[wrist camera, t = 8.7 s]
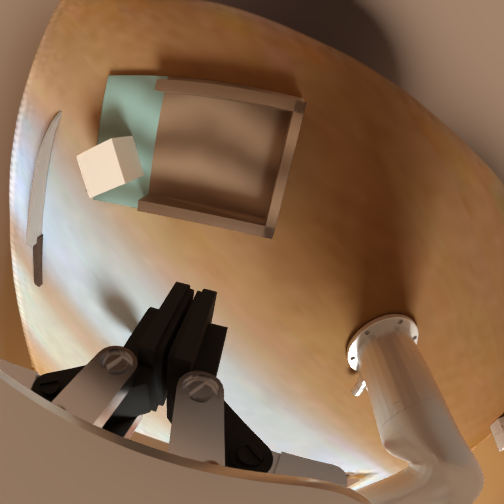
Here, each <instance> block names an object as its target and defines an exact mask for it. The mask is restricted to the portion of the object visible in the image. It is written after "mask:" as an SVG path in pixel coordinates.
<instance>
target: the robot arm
mask: <svg viewBox="0 0 504 504" xmlns="http://www.w3.org/2000/svg"><path fill="white" fill-rule="evenodd" d="M216 295H217V292H215V291H211V290H207V289H203V291H202V292H200V291H197V293H196V295H195V297H194V299H193V296H194V290H193V289H190V285H187V284H184V283H180V282H176V283H175V285H174V286H173V288H172V289H171V291H170V292H169V294H168V296H167V297H166V299H165V300H164V302H163V304H162V305H161V307H160V308H159V309H156V308H152V307H150V308H149V309H148V310H147V312H146V313H145V315H144V316H143V318H142V319H141V321H140V322H139V324H138V325H137V327H136V328H135V330H134V331H133V333H132V335H131V336H130V338H129V339H128V341H127V342H126V344H125V345H124V347H122V346H109V347H106V348H104V349H102V350H101V351H100V352H99V353H98V354H97V355H96V356H95V357H94V358H93V359H92V360H91V361H90V362H89V363H88V364H87V365H85V366H80V367H76V368H71V369H66V370H62V371H57V372H51V373H47V374H44V375H41V376H40V375H39V374H38V372H36V371H33V370H30V369H27V368H24V367H21V366H18V365H15V364H13V363H10V362H7V361H5V360H2V359H0V504H472V503H473V502H474V501H475V500H476V499H477V498H478V496H479V495H480V493H481V491H482V488H483V484H484V477H483V473H482V470H481V467H480V465H479V463H478V461H477V460H476V458H475V456H474V455H473V453H472V451H471V450H470V448H469V447H468V445H467V444H466V442H465V440H464V438H463V436H462V435H461V433H460V431H459V429H458V427H457V425H456V423H455V421H454V419H453V417H452V415H451V413H450V411H449V408H448V406H447V404H446V402H445V400H444V398H443V396H442V394H441V391H440V389H439V387H438V385H437V383H436V381H435V379H434V377H433V375H432V373H431V371H430V369H429V368H428V366H427V364H426V362H425V360H424V358H423V356H422V354H421V352H420V351H419V349H418V347H417V345H416V344H417V341H418V335H419V334H418V328H417V326H416V324H415V323H414V321H413V320H412V319H411V318H410V317H408V316H406V315H402V314H389V315H384V316H381V317H378V318H376V319H374V320H372V321H370V322H369V323H367V324H366V325H364V326H363V327H362V328H361V329H359V330H358V331H357V332H356V334H355V335H354V336H353V337H352V339H351V340H350V342H349V344H348V347H347V352H346V353H347V359H348V363H349V365H350V366H351V367H352V368H353V369H354V370H355V371H357V372H359V377H358V382H357V383H356V384H355V385H354V387H353V388H352V390H351V392H352V394H353V395H355V396H359V395H360V394H361V393H362V392H363V390H364V389H365V387H366V388H367V392H368V395H369V399H370V402H371V405H372V409H373V413H374V416H375V420H376V423H377V427H378V431H379V435H380V438H381V442H382V444H383V446H384V448H385V449H386V451H387V452H389V453H390V454H391V455H393V456H395V457H397V458H400V459H402V460H405V461H407V462H408V463H409V466H408V467H407V468H406V469H404V470H402V471H400V472H398V473H397V474H394V475H392V476H390V477H388V478H385V479H383V480H380V481H378V482H375V483H373V484H370V485H368V486H365V487H362V488H360V489H357V490H355V491H354V490H352V489H350V488H347V476H346V474H345V472H344V471H343V470H342V469H341V468H340V467H338V466H335V465H332V464H327V463H323V462H319V461H314V460H310V459H306V458H303V457H299V456H295V455H292V454H288V453H285V452H281V454H280V453H276V452H273V451H271V450H270V449H269V448H268V446H267V445H266V444H265V443H264V442H263V441H262V440H261V439H260V438H259V437H258V436H257V435H256V434H255V433H254V432H253V431H252V430H251V429H250V428H249V427H248V426H247V425H246V424H245V423H244V422H243V421H242V420H241V418H240V417H239V416H238V415H237V414H236V413H235V412H234V411H233V410H232V409H231V407H230V406H229V405H228V404H227V403H226V402H225V401H224V389H223V385H222V383H221V382H220V380H219V379H218V378H216V376H217V372H218V367H219V363H220V359H221V355H222V350H223V346H224V342H225V337H226V333H227V328H228V327H223V326H219V325H215V324H211V322H212V317H213V311H214V306H215V300H216ZM166 398H167V418H168V420H169V421H170V422H171V424H172V425H171V433H170V442H169V452H168V453H167V452H164V451H161V450H158V449H155V448H151V447H148V446H145V445H143V444H140V443H137V442H134V441H132V440H129V438H130V437H131V435H132V433H133V432H134V430H135V429H136V427H137V426H138V424H139V423H140V421H141V419H142V417H143V414H146V413H149V412H150V411H151V410H152V411H155V412H156V410H157V407H158V405H161V406H163V405H164V403H165V400H166Z"/></svg>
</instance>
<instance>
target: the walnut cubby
mask: <svg viewBox="0 0 504 504" xmlns="http://www.w3.org/2000/svg"><path fill="white" fill-rule="evenodd" d="M303 101H304V99H303V98H299V97H295V96H291V95H287V94H283V93H279V92H274V91H270V90H265V89H260V88H255V87H250V86H244V85H239V84H232V83H226V82H219V81H211V80H203V79H194V78H183V77H169V76H147V75H112V76H108V80H107V85H106V90H105V95H104V101H103V106H102V112H101V119H100V126H99V133H98V141H97V145H99V144H101V143H103V142H105V141H107V140H109V139H111V138H117V137H126V136H133V139H134V142H135V146H136V149H137V152H138V156H139V159H140V162H141V165H142V169H143V172H144V176H141V177H139V178H137V179H135V180H132V181H130V182H128V183H126V184H123V185H121V186H118V187H116V188H113V189H111V190H108V191H106V192H103V193H101V194H99V195H96V196H94V197H93V200H98V201H104V202H109V203H114V204H120V205H125V206H130V207H135V208H137V211H142V212H147V213H152V214H157V215H162V216H167V217H171V218H176V219H181V220H186V221H191V222H196V223H201V224H205V225H210V226H215V227H220V228H224V229H229V230H234V231H238V232H243V233H247V234H252V235H257V236H261V237H266V238H270V239H272V238H273V234H274V230H275V226H276V222H277V219H278V215H279V211H280V207H281V203H282V199H283V195H284V191H285V187H286V183H287V179H288V175H289V171H290V167H291V163H292V159H293V155H294V151H295V147H296V143H297V139H298V135H299V131H300V127H301V123H302V119H303V115H304V110H305V106H306V103H305V102H303Z"/></svg>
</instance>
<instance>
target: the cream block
mask: <svg viewBox="0 0 504 504" xmlns="http://www.w3.org/2000/svg"><path fill="white" fill-rule="evenodd" d="M77 160H78V163H79V167H80V170H81V173H82V176H83V179H84V183H85V186H86V189H87V192H88V195H89V197H90V198H92V197H94V196H96V195H99V194H101V193H103V192H106V191H108V190H111V189H113V188H116V187H118V186H121V185H123V184H126V183H128V182H130V181H132V180H135V179H137V178H139V177H141V176H144V172H143V169H142V165H141V162H140V159H139V156H138V152H137V149H136V146H135V142H134V139H133V136H126V137H117V138H111V139H109V140H107V141H105V142H103V143H101V144H99V145H97V146H95V147H93V148H91V149H89V150H87V151H85V152H83V153H82V154H80V155H78V156H77Z"/></svg>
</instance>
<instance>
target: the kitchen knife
mask: <svg viewBox="0 0 504 504" xmlns="http://www.w3.org/2000/svg"><path fill="white" fill-rule="evenodd" d="M62 112H63V111H59V113H58V114H57V115H56V117H55V118H54V119H53V121H52V123H51V124H50V126H49V128H48V130H47V132H46V134H45V137H44V139H43V142H42V144H41V146H40V149H39V153H38V156H37V160H36V165H35V170H34V176H33V182H32V189H31V195H30V202H29V210H28V221H27V232H26V236H27V244H28V245H29V246H30V247H32V246H33V260H34V283H35V285H37V286H38V287H40V286H41V285H42V246H43V235H42V225H43V211H44V203H45V191H46V181H47V173H48V166H49V160H50V155H51V149H52V144H53V140H54V135H55V131H56V128H57V125H58V123H59V120H60V118H61V115H62Z"/></svg>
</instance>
